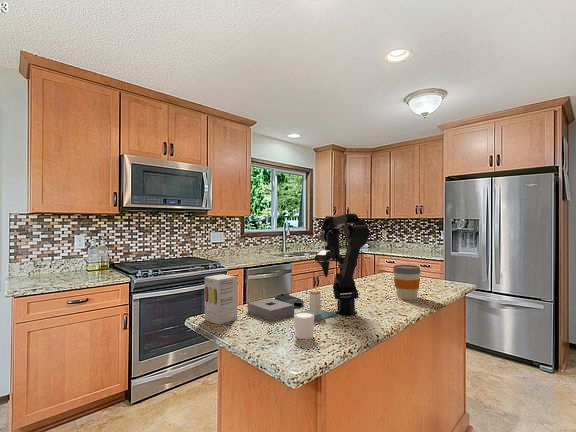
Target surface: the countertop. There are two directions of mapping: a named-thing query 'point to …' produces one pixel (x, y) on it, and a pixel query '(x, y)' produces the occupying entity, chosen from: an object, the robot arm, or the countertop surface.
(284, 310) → the grey flat block
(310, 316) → the white cylinder
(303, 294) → the countertop surface
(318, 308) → the plug
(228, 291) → the supplement box
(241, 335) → the countertop surface
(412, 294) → the reusable coffee cup
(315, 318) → the mat
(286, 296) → the electronic device
